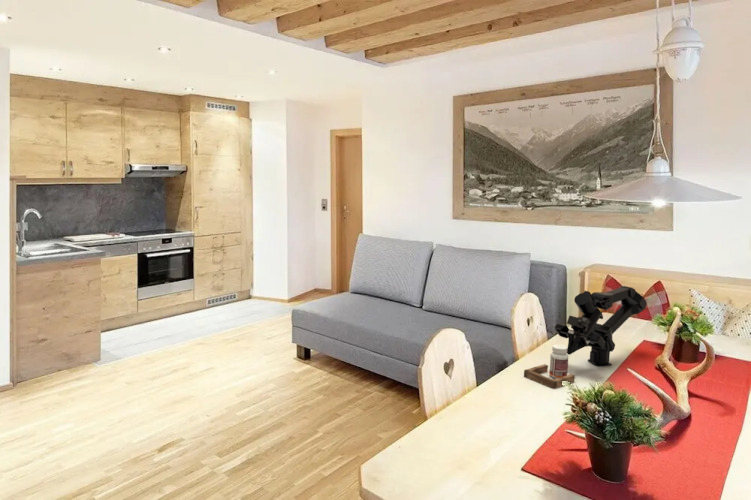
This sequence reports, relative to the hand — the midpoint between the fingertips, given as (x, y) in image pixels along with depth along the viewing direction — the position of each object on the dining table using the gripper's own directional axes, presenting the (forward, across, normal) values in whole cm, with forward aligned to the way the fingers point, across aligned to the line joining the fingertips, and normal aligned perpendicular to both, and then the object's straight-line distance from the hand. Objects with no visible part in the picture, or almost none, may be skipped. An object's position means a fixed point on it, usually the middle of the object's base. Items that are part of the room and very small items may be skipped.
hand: (568, 353), depth 193 cm
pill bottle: (+9, 0, +2) cm, 9 cm away
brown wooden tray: (+12, 0, -1) cm, 12 cm away
